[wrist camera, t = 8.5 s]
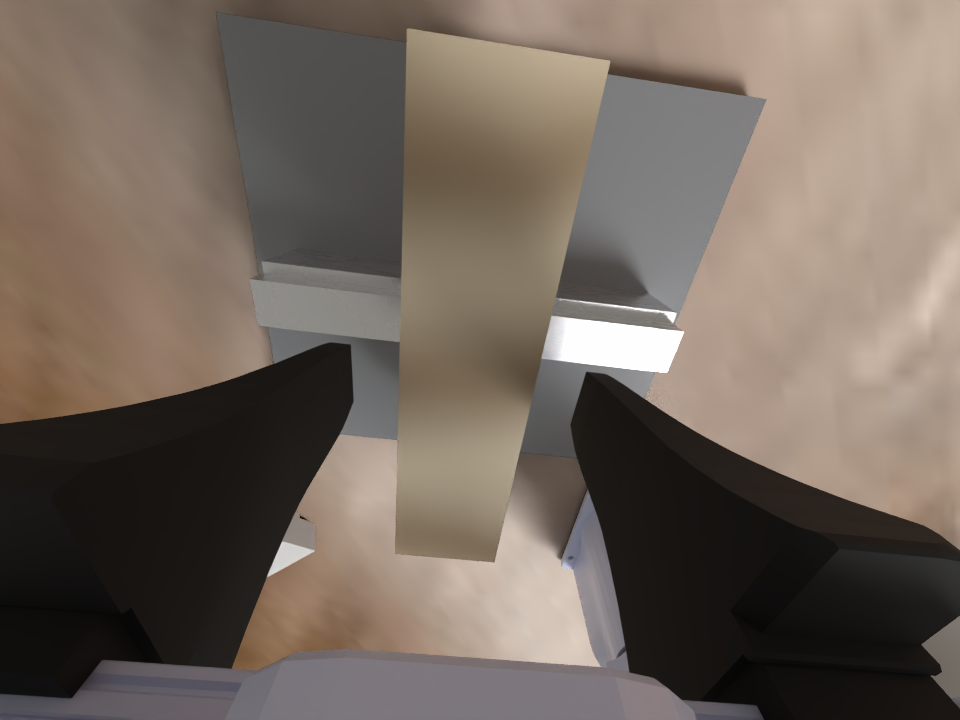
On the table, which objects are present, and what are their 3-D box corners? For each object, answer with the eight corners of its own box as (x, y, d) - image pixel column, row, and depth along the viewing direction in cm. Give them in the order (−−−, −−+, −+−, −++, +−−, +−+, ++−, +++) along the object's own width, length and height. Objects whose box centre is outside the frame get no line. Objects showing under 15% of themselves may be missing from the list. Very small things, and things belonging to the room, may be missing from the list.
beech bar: (491, 471, 19) (494, 562, 14) (416, 463, 18) (395, 553, 14) (560, 106, 11) (610, 61, 7) (437, 87, 11) (407, 28, 7)
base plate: (613, 452, 25) (618, 462, 24) (292, 419, 23) (284, 428, 23) (750, 103, 15) (766, 99, 14) (232, 22, 14) (216, 12, 13)
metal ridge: (630, 345, 20) (662, 382, 16) (302, 306, 19) (259, 336, 15) (648, 292, 18) (688, 321, 15) (295, 248, 17) (247, 266, 14)
